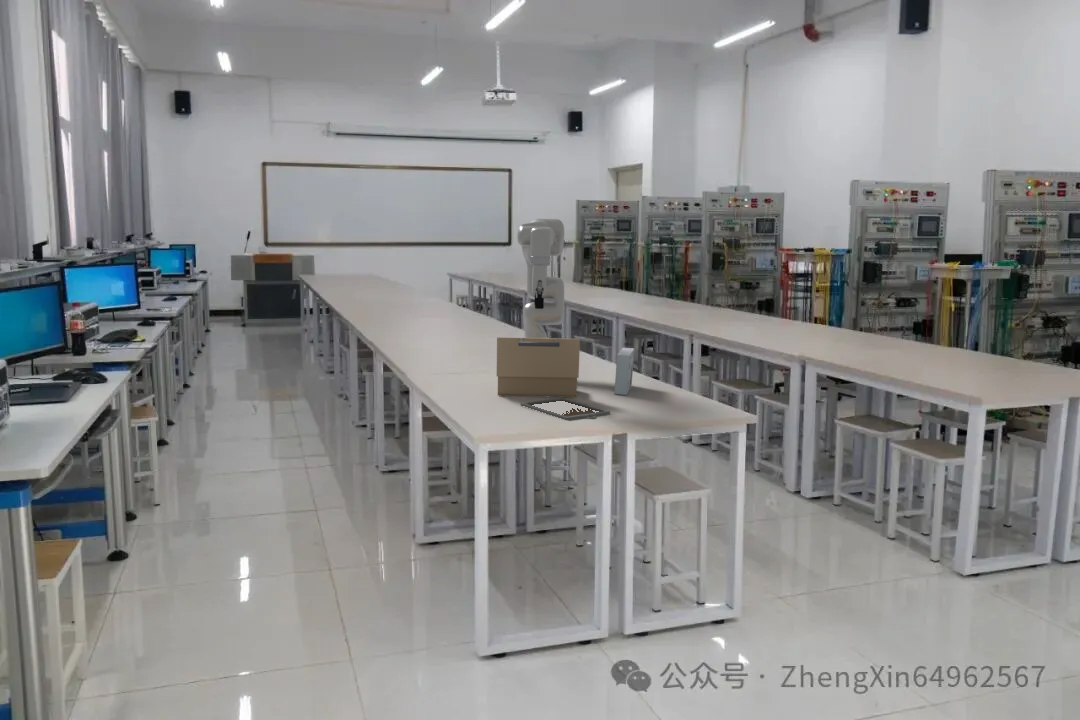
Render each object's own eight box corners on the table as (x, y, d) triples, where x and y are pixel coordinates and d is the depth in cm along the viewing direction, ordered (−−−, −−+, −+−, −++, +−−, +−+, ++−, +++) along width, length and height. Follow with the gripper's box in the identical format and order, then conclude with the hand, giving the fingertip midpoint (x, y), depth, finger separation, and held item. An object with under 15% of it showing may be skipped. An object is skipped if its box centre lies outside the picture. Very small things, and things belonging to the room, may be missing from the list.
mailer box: (498, 388, 339) (498, 369, 338) (574, 390, 340) (574, 371, 339) (497, 395, 325) (497, 376, 324) (576, 397, 326) (577, 377, 325)
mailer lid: (497, 336, 320) (496, 341, 311) (579, 337, 321) (581, 343, 312) (496, 375, 324) (495, 382, 315) (578, 377, 325) (580, 383, 316)
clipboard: (562, 397, 320) (615, 412, 296) (562, 401, 320) (615, 417, 296) (520, 402, 309) (572, 419, 285) (520, 407, 309) (572, 423, 285)
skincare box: (627, 395, 332) (629, 355, 329) (613, 394, 333) (615, 354, 330) (633, 385, 352) (634, 347, 349) (619, 385, 353) (621, 346, 351)
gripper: (529, 259, 327) (528, 304, 330) (530, 262, 310) (529, 309, 314) (549, 259, 327) (548, 304, 331) (550, 263, 310) (549, 310, 314)
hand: (538, 306), depth 322 cm, fingers open, 9 cm apart
